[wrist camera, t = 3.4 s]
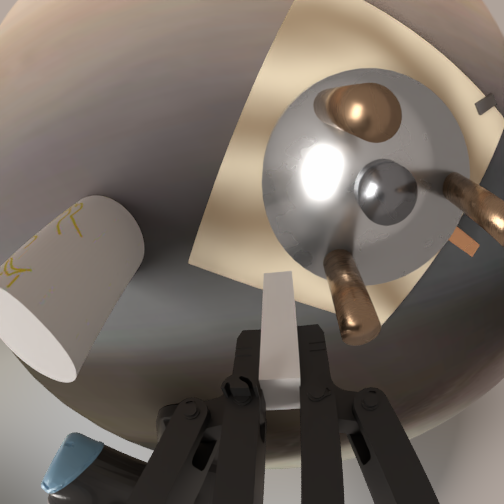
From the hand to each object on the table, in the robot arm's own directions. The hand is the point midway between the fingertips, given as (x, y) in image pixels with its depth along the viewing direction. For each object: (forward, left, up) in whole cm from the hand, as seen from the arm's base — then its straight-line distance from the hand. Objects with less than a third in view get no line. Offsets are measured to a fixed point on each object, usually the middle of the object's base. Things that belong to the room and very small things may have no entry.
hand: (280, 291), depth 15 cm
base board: (+7, -3, -6) cm, 10 cm away
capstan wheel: (+7, -5, -4) cm, 10 cm away
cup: (-6, +14, -6) cm, 16 cm away
